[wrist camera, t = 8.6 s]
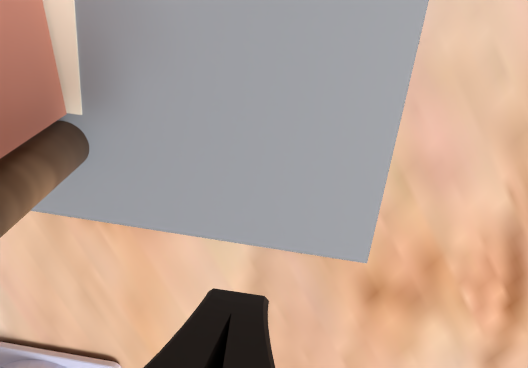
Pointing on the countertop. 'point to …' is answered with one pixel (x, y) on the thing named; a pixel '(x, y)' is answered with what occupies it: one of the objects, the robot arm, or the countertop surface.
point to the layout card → (235, 116)
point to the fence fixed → (38, 169)
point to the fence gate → (26, 74)
